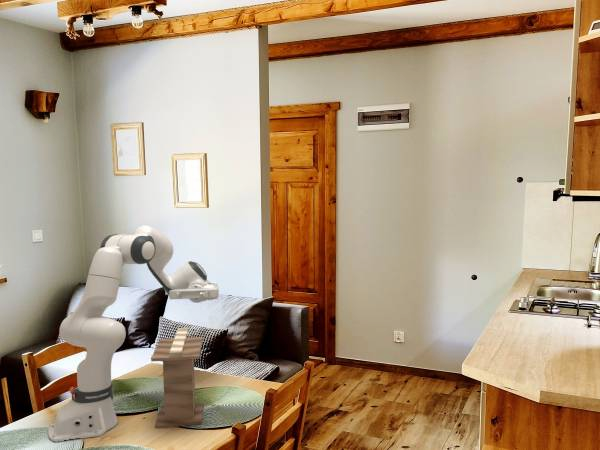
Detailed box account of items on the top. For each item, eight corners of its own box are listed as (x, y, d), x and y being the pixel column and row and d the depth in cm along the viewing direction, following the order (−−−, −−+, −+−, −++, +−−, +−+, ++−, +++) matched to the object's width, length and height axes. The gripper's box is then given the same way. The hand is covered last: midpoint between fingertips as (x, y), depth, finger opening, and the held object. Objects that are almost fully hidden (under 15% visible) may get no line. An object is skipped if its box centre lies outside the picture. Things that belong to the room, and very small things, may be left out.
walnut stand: (162, 405, 198) (159, 339, 196) (204, 402, 200) (202, 337, 198) (153, 432, 176) (151, 358, 174) (201, 429, 178) (199, 355, 176)
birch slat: (178, 332, 204) (178, 328, 204) (188, 331, 205) (188, 327, 205) (169, 357, 175) (169, 352, 174) (181, 356, 175) (181, 352, 175)
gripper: (173, 285, 219) (164, 288, 205) (220, 283, 219) (215, 286, 205) (173, 300, 219) (164, 304, 205) (221, 298, 218) (215, 302, 205)
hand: (190, 295), depth 205 cm, fingers open, 8 cm apart
